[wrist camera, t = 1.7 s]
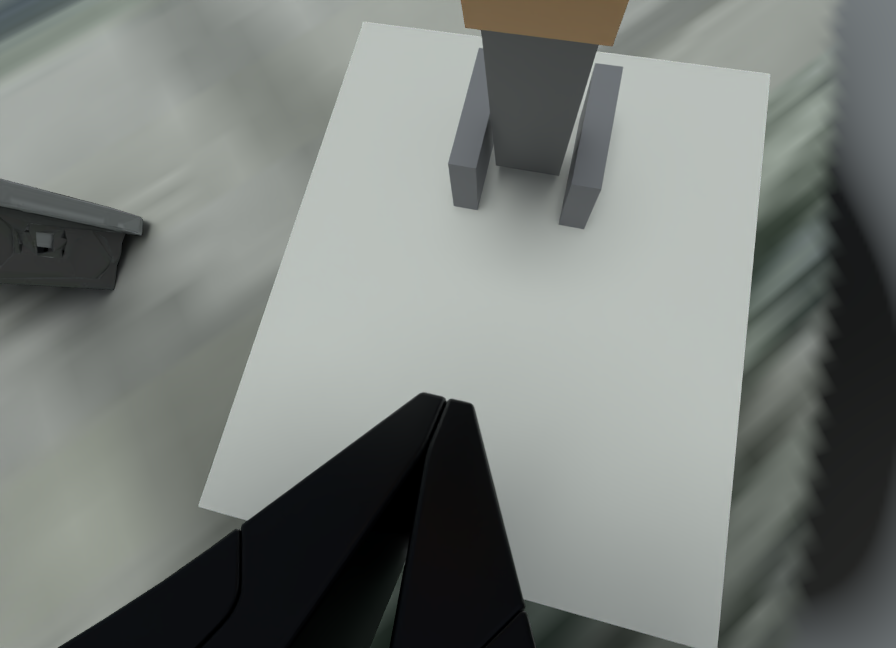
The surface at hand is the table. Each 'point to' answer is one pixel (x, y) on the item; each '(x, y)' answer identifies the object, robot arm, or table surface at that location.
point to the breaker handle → (539, 71)
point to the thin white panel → (527, 315)
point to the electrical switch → (59, 238)
